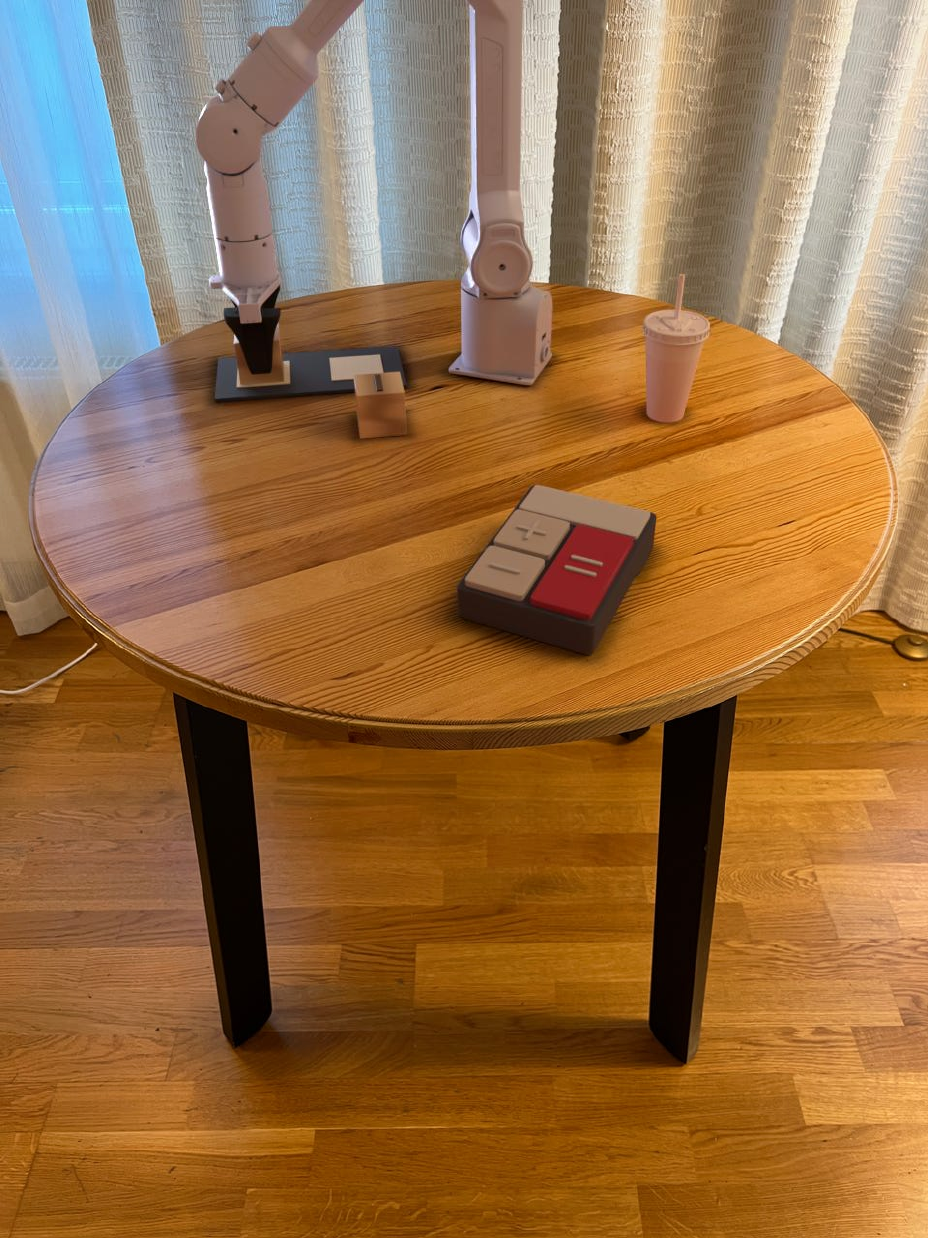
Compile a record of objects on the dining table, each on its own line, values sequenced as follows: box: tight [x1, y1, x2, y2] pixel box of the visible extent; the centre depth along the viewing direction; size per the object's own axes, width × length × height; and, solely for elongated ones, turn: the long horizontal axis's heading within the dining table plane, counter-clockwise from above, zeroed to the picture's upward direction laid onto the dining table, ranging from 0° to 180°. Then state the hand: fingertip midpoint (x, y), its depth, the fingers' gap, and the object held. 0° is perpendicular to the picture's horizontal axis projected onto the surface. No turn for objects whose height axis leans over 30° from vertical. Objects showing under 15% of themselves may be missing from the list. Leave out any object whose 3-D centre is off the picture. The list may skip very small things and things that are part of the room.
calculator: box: [456, 484, 657, 656], centre depth 80 cm, size 11×4×15 cm
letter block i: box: [354, 372, 408, 440], centre depth 100 cm, size 5×5×5 cm
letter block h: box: [233, 322, 284, 384], centre depth 108 cm, size 5×5×5 cm
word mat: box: [214, 345, 408, 403], centre depth 111 cm, size 20×10×1 cm, turn 98°
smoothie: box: [641, 273, 711, 424], centre depth 99 cm, size 6×6×14 cm
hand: (261, 361), depth 109 cm, fingers closed on letter block h, 5 cm apart
